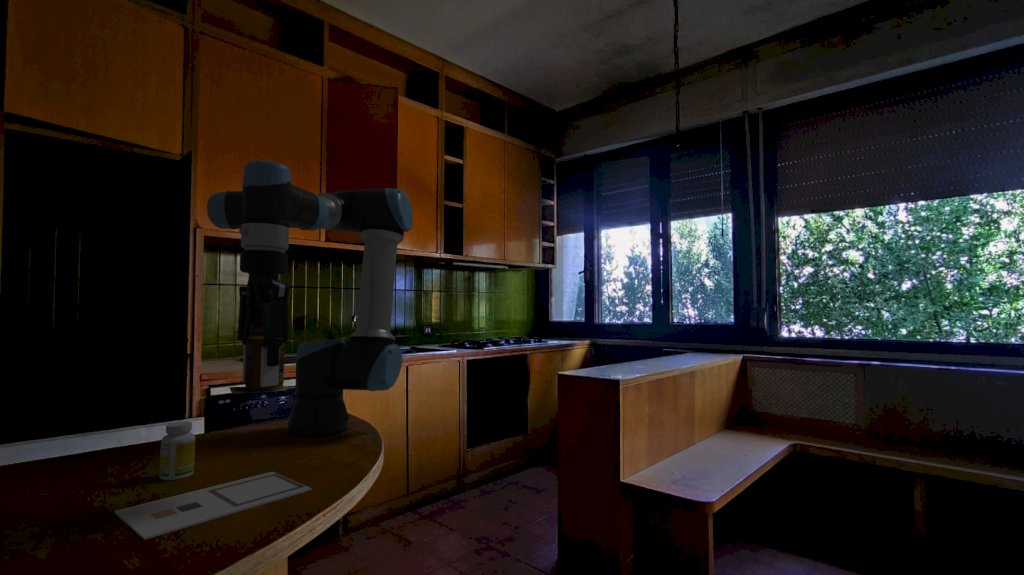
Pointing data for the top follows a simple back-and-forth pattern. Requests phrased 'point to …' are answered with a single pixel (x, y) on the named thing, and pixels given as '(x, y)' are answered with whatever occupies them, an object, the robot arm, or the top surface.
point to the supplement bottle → (177, 452)
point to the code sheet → (207, 504)
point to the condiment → (258, 363)
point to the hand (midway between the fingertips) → (260, 383)
